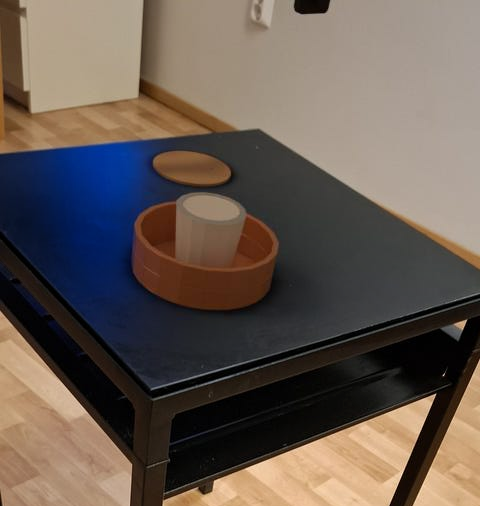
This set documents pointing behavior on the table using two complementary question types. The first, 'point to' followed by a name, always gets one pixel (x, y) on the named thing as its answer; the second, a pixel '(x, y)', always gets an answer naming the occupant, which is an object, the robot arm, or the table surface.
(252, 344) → the table surface
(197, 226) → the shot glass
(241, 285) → the pan
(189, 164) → the coaster
